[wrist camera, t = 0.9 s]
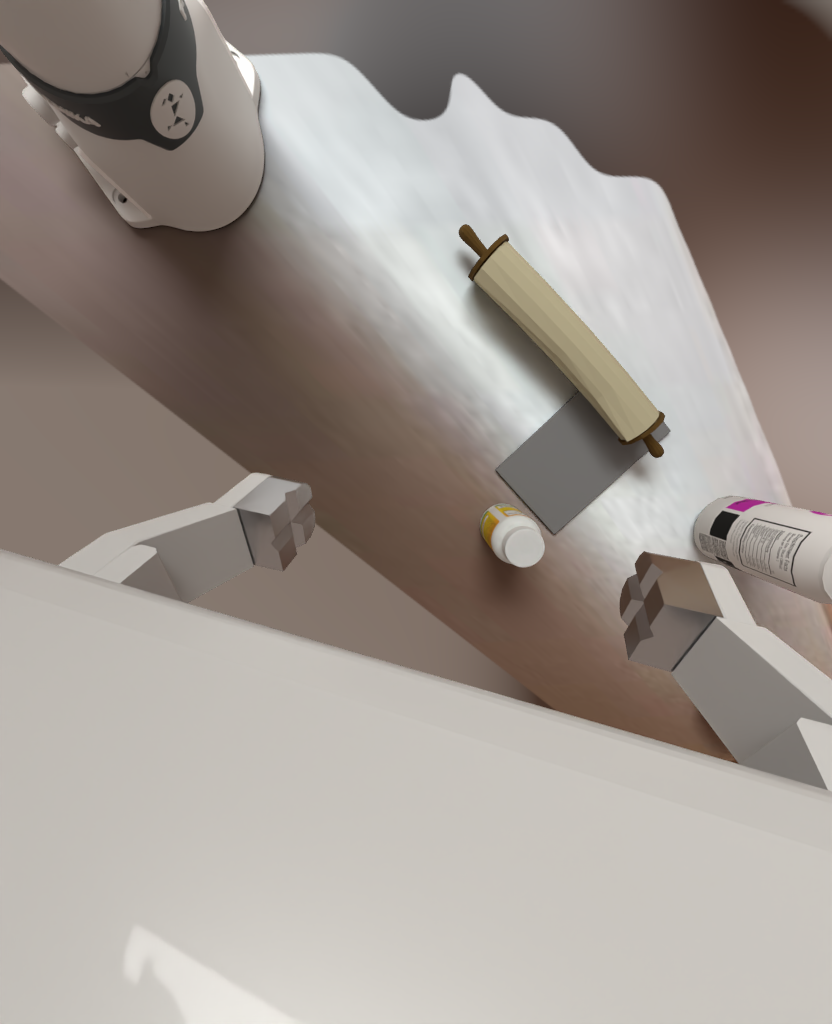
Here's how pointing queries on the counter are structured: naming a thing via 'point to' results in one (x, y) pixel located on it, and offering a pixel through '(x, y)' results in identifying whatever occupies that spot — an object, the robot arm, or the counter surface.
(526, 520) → the supplement bottle
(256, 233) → the counter surface
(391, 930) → the robot arm
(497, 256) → the rolling pin
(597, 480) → the mat
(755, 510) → the supplement can
